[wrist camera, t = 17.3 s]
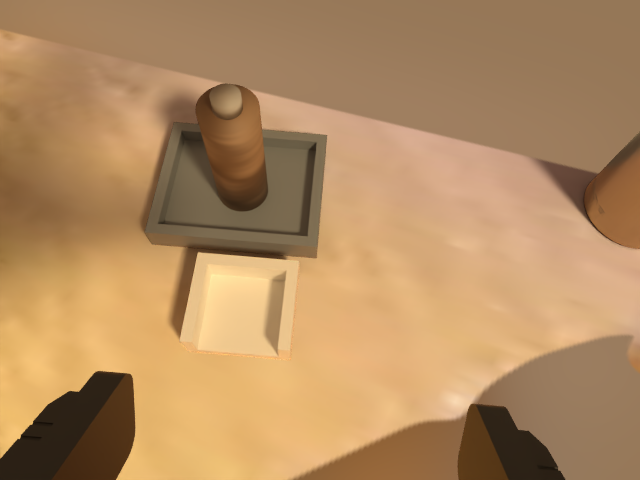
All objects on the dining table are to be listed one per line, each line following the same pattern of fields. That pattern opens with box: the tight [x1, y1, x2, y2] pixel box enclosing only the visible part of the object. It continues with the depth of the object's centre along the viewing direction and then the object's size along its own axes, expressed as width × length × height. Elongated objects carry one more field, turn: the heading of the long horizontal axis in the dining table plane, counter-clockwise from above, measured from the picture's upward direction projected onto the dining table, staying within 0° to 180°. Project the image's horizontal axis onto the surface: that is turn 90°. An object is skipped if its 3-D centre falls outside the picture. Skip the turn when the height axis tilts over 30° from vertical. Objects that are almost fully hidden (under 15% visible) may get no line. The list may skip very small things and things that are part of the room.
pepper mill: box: [196, 84, 268, 212], centre depth 43 cm, size 5×5×13 cm
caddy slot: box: [180, 252, 299, 360], centre depth 43 cm, size 9×8×4 cm
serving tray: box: [145, 122, 327, 258], centre depth 49 cm, size 16×13×2 cm
